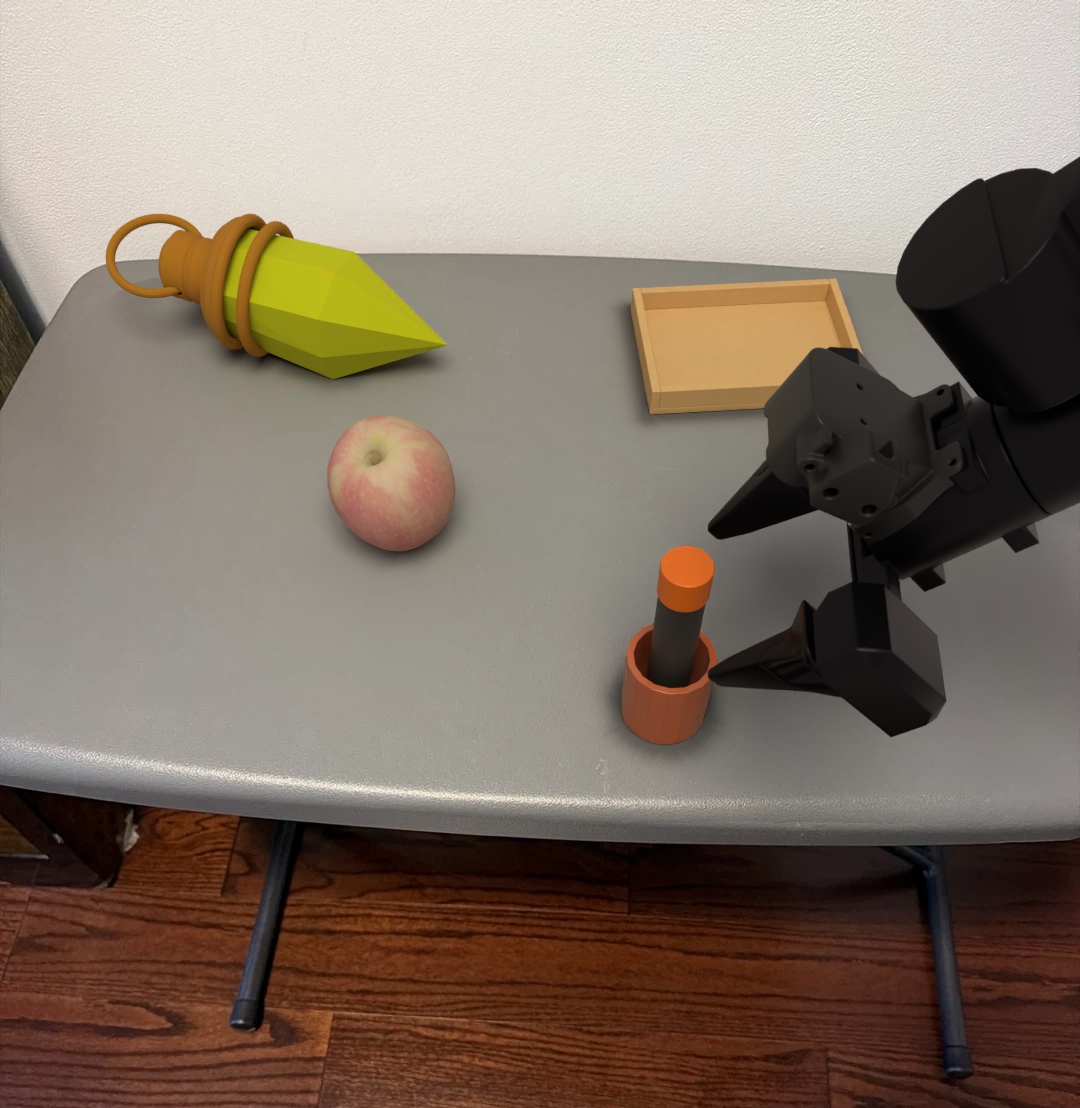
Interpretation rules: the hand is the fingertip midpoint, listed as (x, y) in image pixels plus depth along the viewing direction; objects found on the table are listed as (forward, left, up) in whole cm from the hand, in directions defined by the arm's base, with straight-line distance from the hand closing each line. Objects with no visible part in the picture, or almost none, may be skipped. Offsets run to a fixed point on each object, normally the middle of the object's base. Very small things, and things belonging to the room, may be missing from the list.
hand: (712, 602), depth 53 cm
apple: (+16, -15, -10) cm, 25 cm away
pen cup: (+1, 0, -10) cm, 10 cm away
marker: (+1, 0, -9) cm, 10 cm away
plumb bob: (+24, -34, -10) cm, 43 cm away
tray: (-9, -30, -10) cm, 33 cm away
